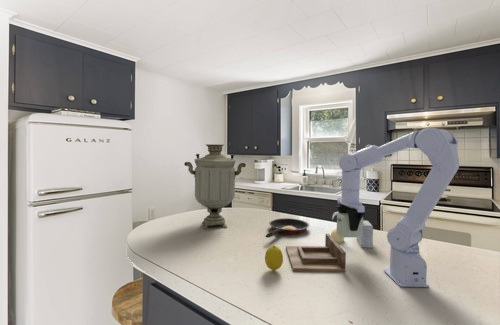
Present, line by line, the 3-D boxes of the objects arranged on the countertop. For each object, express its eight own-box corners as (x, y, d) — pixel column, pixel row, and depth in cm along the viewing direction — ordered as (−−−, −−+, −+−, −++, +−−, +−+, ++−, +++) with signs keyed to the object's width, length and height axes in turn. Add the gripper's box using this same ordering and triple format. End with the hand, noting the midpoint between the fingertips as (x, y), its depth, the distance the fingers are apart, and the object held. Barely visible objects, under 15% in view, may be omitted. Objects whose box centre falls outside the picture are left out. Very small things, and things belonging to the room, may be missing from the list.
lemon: (271, 265, 83) (271, 241, 83) (286, 270, 79) (286, 245, 79) (261, 271, 79) (261, 245, 78) (276, 277, 75) (276, 250, 75)
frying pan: (314, 228, 124) (314, 220, 123) (289, 249, 96) (289, 240, 96) (278, 222, 133) (279, 215, 133) (246, 240, 106) (246, 231, 106)
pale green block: (362, 237, 87) (363, 216, 86) (340, 237, 86) (341, 217, 86) (355, 232, 92) (356, 213, 91) (334, 232, 91) (335, 213, 91)
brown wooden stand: (345, 271, 79) (345, 252, 78) (293, 271, 79) (293, 252, 79) (328, 249, 97) (328, 233, 96) (286, 248, 97) (286, 233, 97)
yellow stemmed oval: (329, 240, 106) (330, 212, 105) (332, 237, 110) (332, 209, 110) (344, 243, 103) (345, 214, 102) (347, 239, 107) (347, 211, 107)
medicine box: (372, 248, 98) (373, 226, 98) (360, 247, 99) (361, 225, 99) (367, 241, 106) (368, 220, 105) (356, 240, 107) (356, 219, 106)
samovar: (249, 218, 140) (250, 145, 138) (241, 233, 114) (241, 143, 112) (197, 215, 145) (197, 144, 143) (178, 230, 119) (177, 143, 117)
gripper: (374, 192, 82) (372, 234, 82) (350, 186, 96) (349, 221, 97) (353, 192, 81) (352, 235, 81) (332, 186, 95) (331, 222, 96)
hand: (349, 228), depth 89 cm, fingers closed on pale green block, 5 cm apart
